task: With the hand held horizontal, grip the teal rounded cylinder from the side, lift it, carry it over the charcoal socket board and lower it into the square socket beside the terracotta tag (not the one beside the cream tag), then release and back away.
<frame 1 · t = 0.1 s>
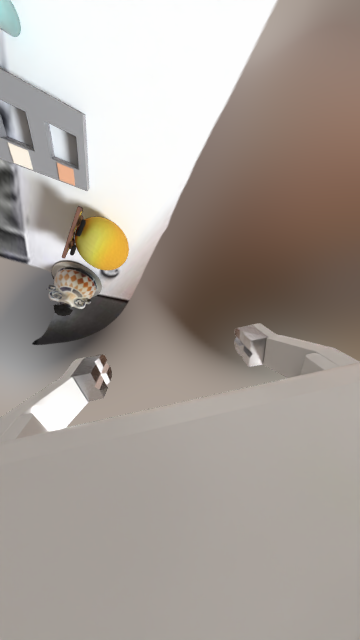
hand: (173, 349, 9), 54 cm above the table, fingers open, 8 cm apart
teal rounded cylinder: (5, 12, 24), on the table
figurine: (78, 279, 63), on the table
emoji: (105, 233, 51), on the table
socket board: (44, 136, 33), on the table
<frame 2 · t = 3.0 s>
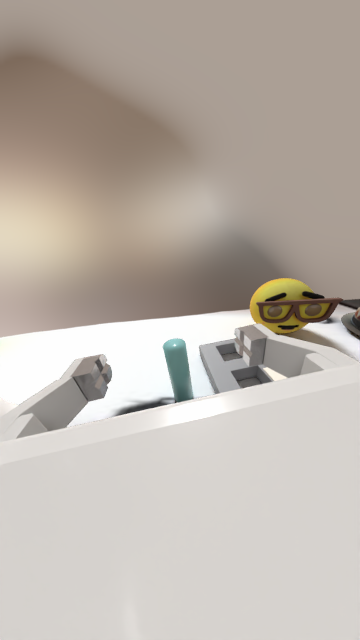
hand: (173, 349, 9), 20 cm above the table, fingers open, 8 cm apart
teal rounded cylinder: (183, 395, 29), on the table
emoji: (276, 330, 44), on the table
socket board: (239, 374, 31), on the table
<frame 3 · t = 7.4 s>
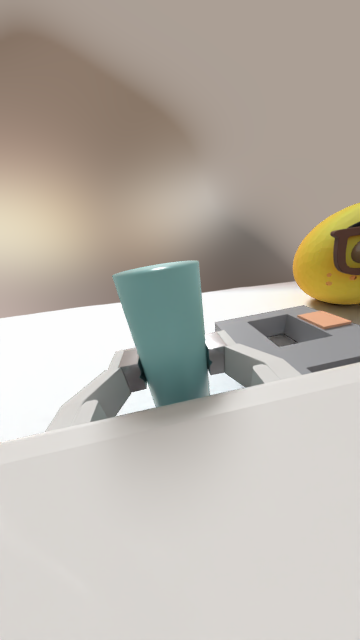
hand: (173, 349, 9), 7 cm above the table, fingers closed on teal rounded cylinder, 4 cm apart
teal rounded cylinder: (189, 429, 11), on the table, touching gripper
emoji: (338, 303, 27), on the table
socket board: (312, 375, 14), on the table
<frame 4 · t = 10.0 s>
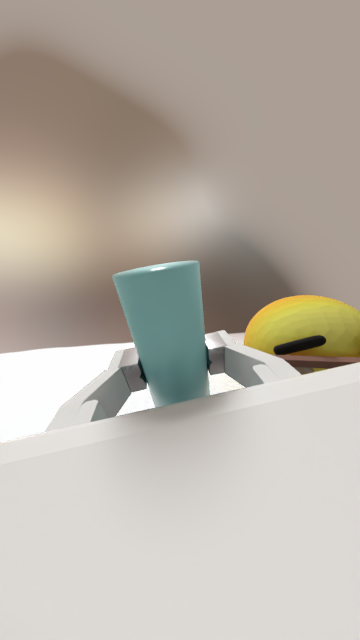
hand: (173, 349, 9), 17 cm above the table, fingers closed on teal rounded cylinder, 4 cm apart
teal rounded cylinder: (189, 429, 11), point 10 cm above the table, touching gripper
emoji: (290, 385, 25), on the table
when the fingers open (8 cm above the table, at t = 12.5 s): teal rounded cylinder stays where it is, resting in socket board.
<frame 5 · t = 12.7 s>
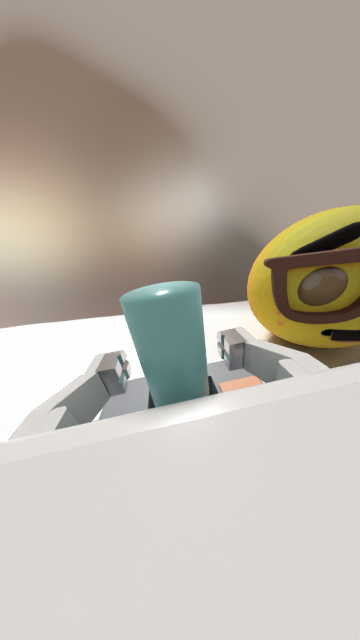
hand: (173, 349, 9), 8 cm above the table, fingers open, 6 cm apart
teal rounded cylinder: (190, 437, 12), resting in socket board
emoji: (303, 340, 21), on the table
socket board: (205, 523, 8), on the table
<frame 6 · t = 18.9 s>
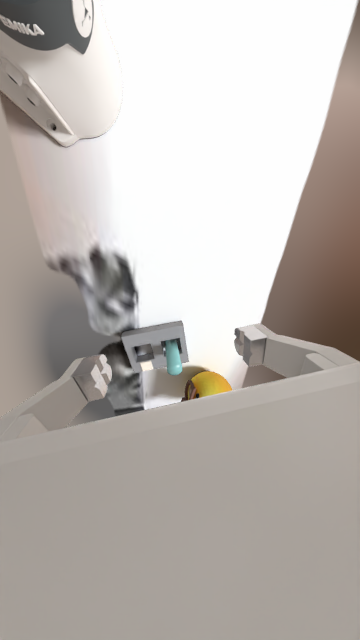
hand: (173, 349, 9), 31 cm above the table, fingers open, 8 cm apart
teal rounded cylinder: (170, 341, 46), resting in socket board
emoji: (201, 377, 54), on the table
socket board: (157, 344, 45), on the table
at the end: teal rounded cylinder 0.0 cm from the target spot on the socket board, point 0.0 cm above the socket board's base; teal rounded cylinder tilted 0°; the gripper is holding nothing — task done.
